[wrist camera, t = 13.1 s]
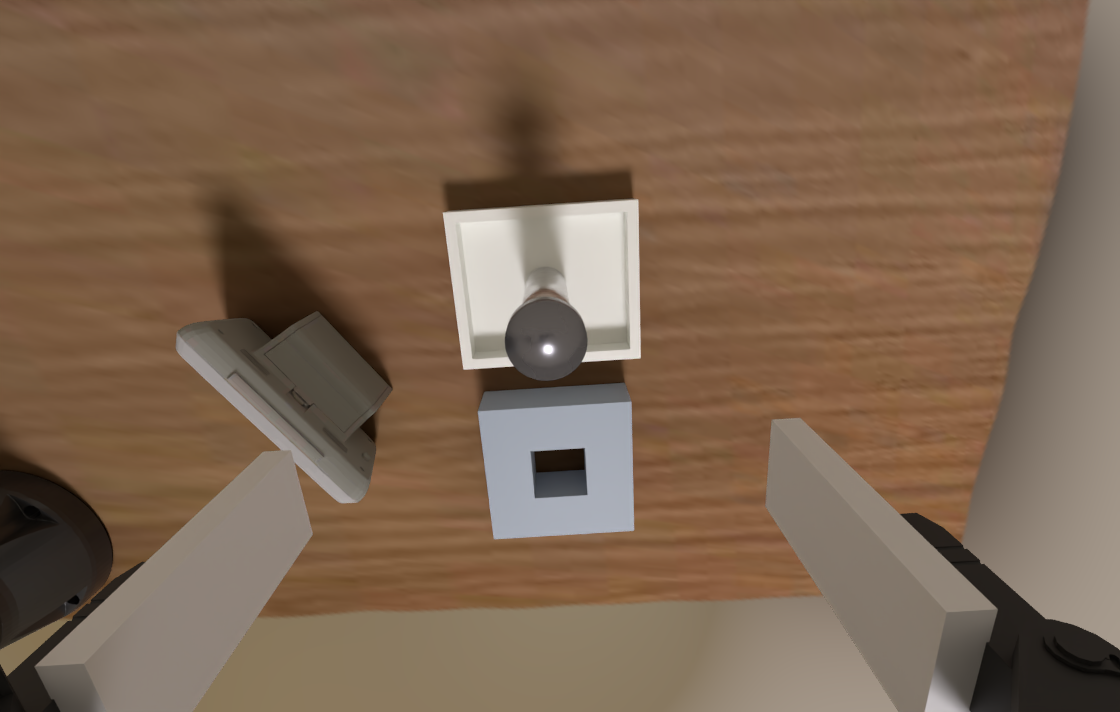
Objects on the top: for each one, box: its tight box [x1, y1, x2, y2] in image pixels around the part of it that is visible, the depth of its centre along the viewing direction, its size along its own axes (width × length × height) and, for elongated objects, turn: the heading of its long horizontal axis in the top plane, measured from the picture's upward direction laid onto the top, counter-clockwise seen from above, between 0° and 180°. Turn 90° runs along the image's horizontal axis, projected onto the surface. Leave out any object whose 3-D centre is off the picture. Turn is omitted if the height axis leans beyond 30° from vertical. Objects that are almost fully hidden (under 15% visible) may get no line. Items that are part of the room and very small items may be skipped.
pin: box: [505, 267, 588, 381], centre depth 34 cm, size 4×4×14 cm
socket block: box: [478, 383, 634, 539], centre depth 44 cm, size 12×12×4 cm
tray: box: [443, 198, 641, 370], centre depth 40 cm, size 14×12×2 cm
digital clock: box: [176, 311, 392, 503], centre depth 39 cm, size 16×9×11 cm, turn 26°
